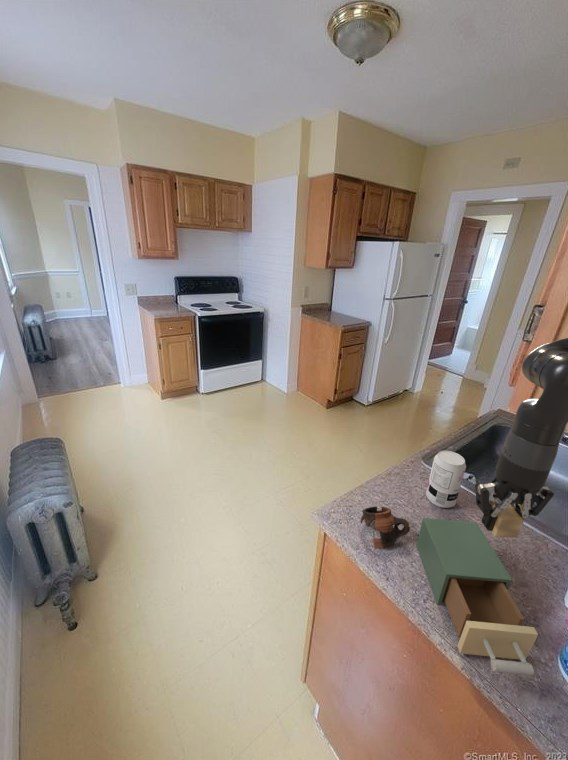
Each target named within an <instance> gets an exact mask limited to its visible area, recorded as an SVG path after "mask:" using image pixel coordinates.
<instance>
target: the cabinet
mask: <svg viewBox="0 0 568 760" xmlns="http://www.w3.org/2000/svg"><path fill="white" fill-rule="evenodd" d="M415 546H416V549H417V552H418V554H419V558H420V560H421V563H422V566H423V569H424V571H425V574H426V578H427V580H428V583H429V585H430V588H431V591H432V594H433V597H434V599H435V602H436V605H437V606H446V603H445V601H444V598H443V597H444V594H445V590H446V587H447V584H448V581H449V577H451V578H462V579H473V580H484V581H495V582H503V583H504V585H505V586H506V588H507V590H508V591H509V589H510V587H511V585H512V582H513V579H512V577H511V576H510V574H509V573H508V572H509V571H507V569H506V568H505V565H504V564H503V563H502V561H501V560H500V557H499V556H498V555H497V553H496V552H495V551H496V550H494V548H493V546H492V545H491V543H490V541H489V540H488V538H487V536H486V535H485V533H484V532H483V530H482V529H481V527H480V525H479V524H478V522H476V521H463V520H453V519H452V520H451V519H441V518H439V519H438V518H426V517H423V518H422V521H421V525H420V528H419V533H418V537H417V541H416V545H415Z"/></svg>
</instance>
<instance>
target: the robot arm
mask: <svg viewBox="0 0 568 760" xmlns="http://www.w3.org/2000/svg"><path fill="white" fill-rule="evenodd" d="M521 371H522V374H523V376H524V377H525V378H526V379H527V380H528V381H529V382H531V383H532V384H534V385H536V386H537V387H538V388H541V389H542V393H541V395H540V396H539V398H529V399H526V400H523V401H521V403H520V404H519V406H518V407H517V410H516V412H515V415H514V418H513V421H512V424H511V426H510V429H509V431H508V433H507V434H506V437H505V440H504V442H503V445H502V447H501V450H500V455H499V456H498V460H497V463H496V466H495V476H494V478H493V479H492V480H491V481H490V482H489V483H484V484H483V483H482V482H481V481H477V482H475V484H474V485H475V487H474V488H475V504H476V506H477V507H478V508H479V510H480V511H481V512H482V514H483V515H482V518H481V523H482V525H483V526H484V527H485V529H486V530H487V532H491V531H492V530H493V528H494V525H495V523H496V520H497V516H498V514H499V513H500V512H501V511H502V510H505V509H506V508H507V507H508V506H509V504H510V505H512V504H513V508H514V510H515V511H516V512H517V513H518V514H519V515H520V516H521V517H522V519H523V520H524V521H525V519H527V518H529V516H531V515H532V516H533V517H537V516H538V515H539V514H540V513H542V510H544V509H545V507H546V506H547V505H548V503H549V502H550V501H551V500H552V499H553V497H554V496H555V493H554V492H553V490H551V489H550V488H549V487H548V486H546V482H547V480H548V477H549V475H550V474H551V470H552V467H553V465H554V463H555V460H556V458H557V455H558V452H559V446H560V443H561V441H562V438H563V436H564V434H565V431H566V429H567V425H568V337H565V338H561V339H558V340H553V341H550V342H547V343H544V344H543V345H540V346H538V347H536V348H535V349H533V350H532V351H531V352H529V353H528V355H527V356H526V357H525V358H524V360H523V362H522V364H521ZM494 504H495V507H494V508H493V505H494ZM534 504H536V505H535V506H533V505H534Z"/></svg>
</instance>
